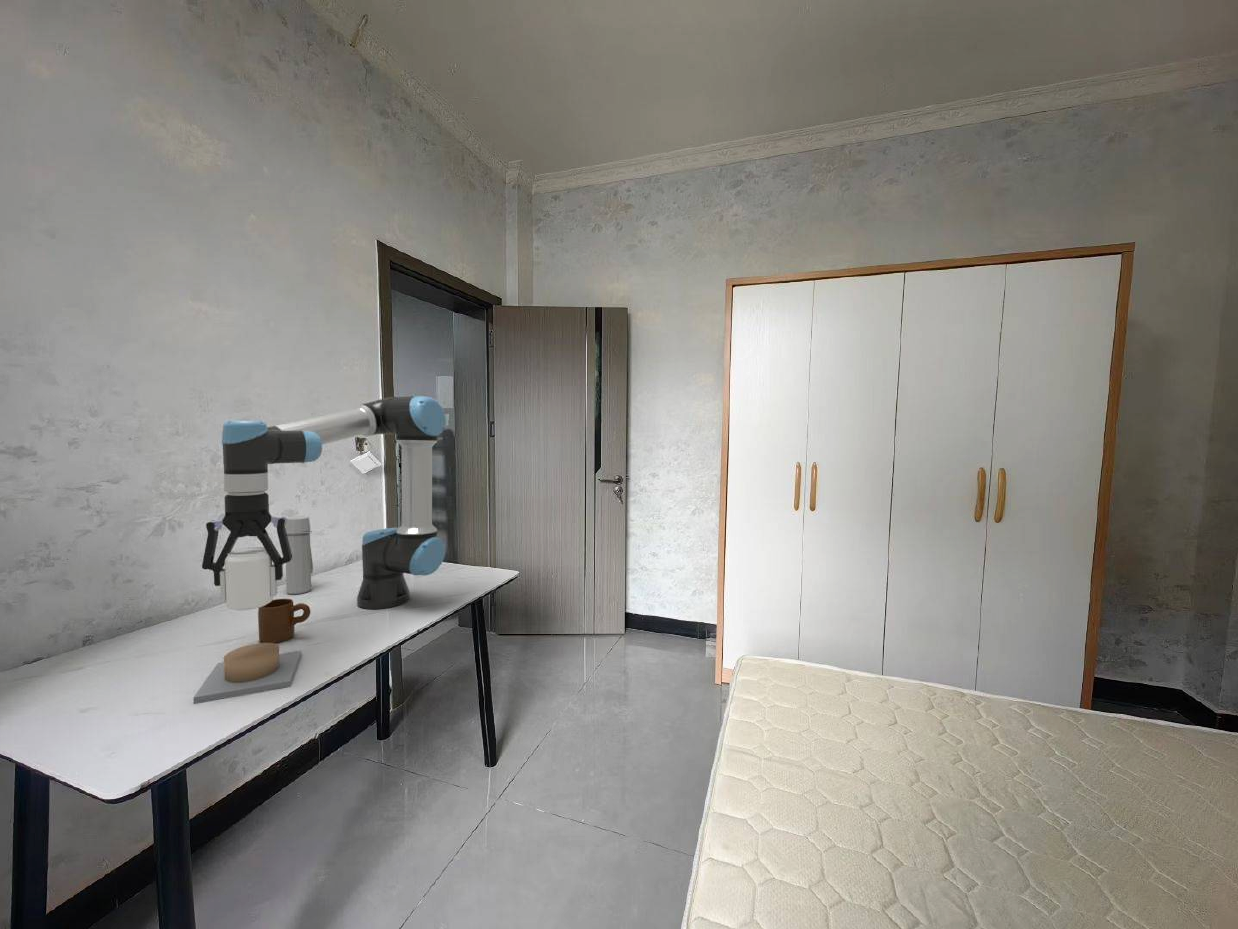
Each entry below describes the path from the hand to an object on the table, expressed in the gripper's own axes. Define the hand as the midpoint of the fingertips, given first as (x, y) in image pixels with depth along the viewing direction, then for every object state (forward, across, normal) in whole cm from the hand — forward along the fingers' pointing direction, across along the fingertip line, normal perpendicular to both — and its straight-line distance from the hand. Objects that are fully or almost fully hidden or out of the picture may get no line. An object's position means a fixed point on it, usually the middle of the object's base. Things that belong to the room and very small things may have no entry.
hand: (250, 597), depth 106 cm
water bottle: (+18, -1, -64) cm, 67 cm away
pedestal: (+18, 0, 0) cm, 18 cm away
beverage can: (+2, 0, 0) cm, 2 cm away
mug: (+18, -3, -21) cm, 28 cm away
